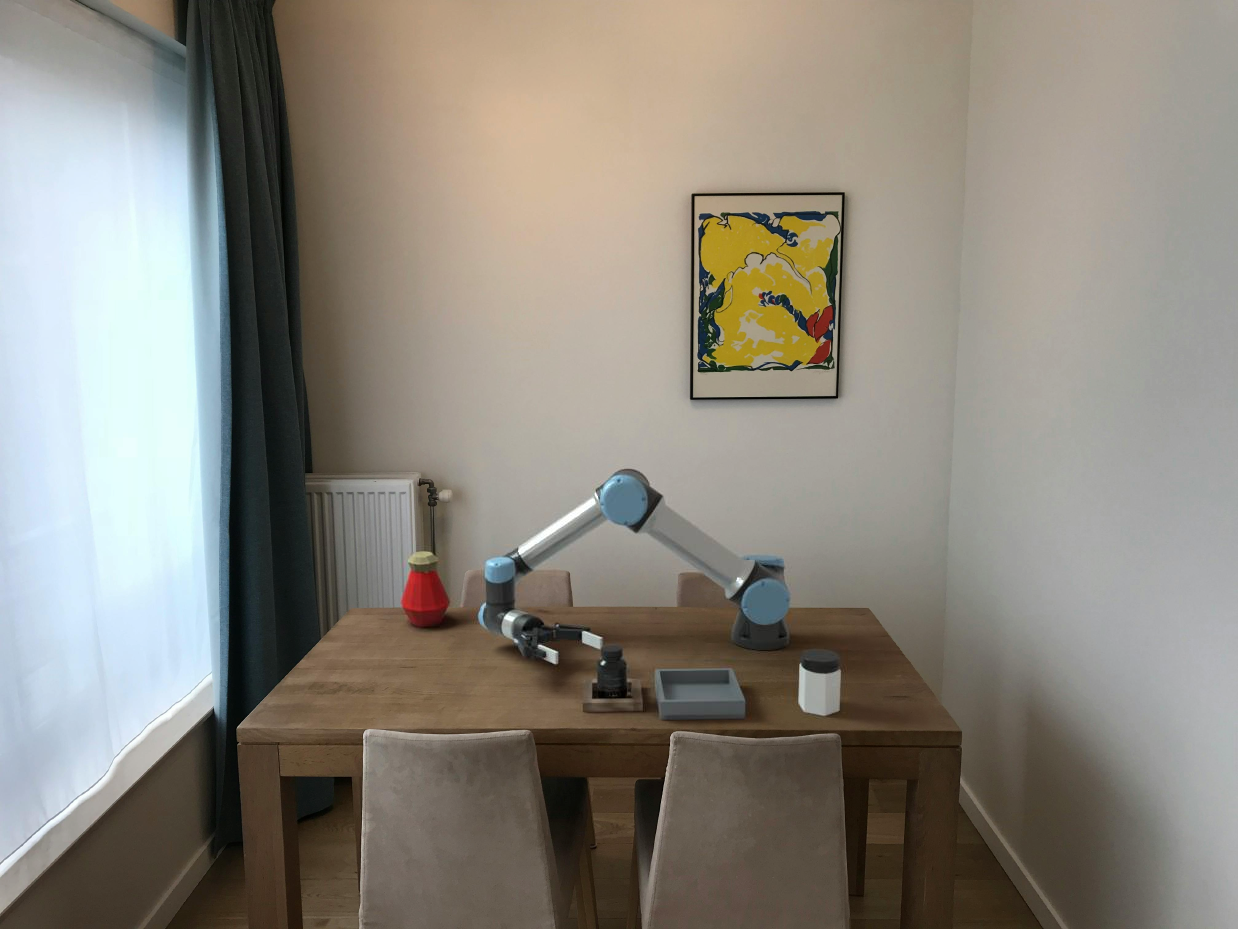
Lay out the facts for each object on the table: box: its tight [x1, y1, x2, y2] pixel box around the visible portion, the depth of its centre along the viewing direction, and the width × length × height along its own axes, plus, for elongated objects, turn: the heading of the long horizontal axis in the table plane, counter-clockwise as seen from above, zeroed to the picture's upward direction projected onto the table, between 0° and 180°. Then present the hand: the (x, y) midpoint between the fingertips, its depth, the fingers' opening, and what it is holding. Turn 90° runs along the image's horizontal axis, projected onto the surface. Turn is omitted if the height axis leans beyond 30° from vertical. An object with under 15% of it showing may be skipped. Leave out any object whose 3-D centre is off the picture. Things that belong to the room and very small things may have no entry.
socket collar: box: [582, 678, 644, 713], centre depth 193 cm, size 13×13×2 cm
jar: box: [797, 648, 842, 717], centre depth 188 cm, size 9×8×12 cm
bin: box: [654, 667, 746, 721], centre depth 192 cm, size 18×18×4 cm
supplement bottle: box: [596, 643, 628, 699], centre depth 193 cm, size 7×7×12 cm
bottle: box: [400, 551, 451, 629], centre depth 244 cm, size 16×14×20 cm
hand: (579, 650), depth 200 cm, fingers open, 13 cm apart
